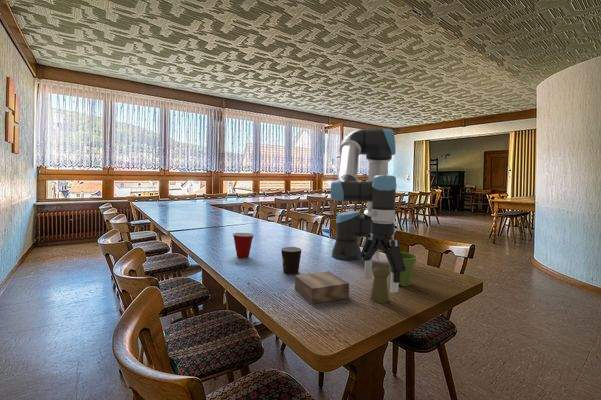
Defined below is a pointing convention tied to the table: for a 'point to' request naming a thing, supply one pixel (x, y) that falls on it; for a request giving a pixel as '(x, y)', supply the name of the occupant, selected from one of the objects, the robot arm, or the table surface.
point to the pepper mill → (380, 285)
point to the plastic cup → (243, 244)
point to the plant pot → (409, 265)
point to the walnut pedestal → (321, 287)
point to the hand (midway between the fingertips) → (380, 285)
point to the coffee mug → (291, 259)
